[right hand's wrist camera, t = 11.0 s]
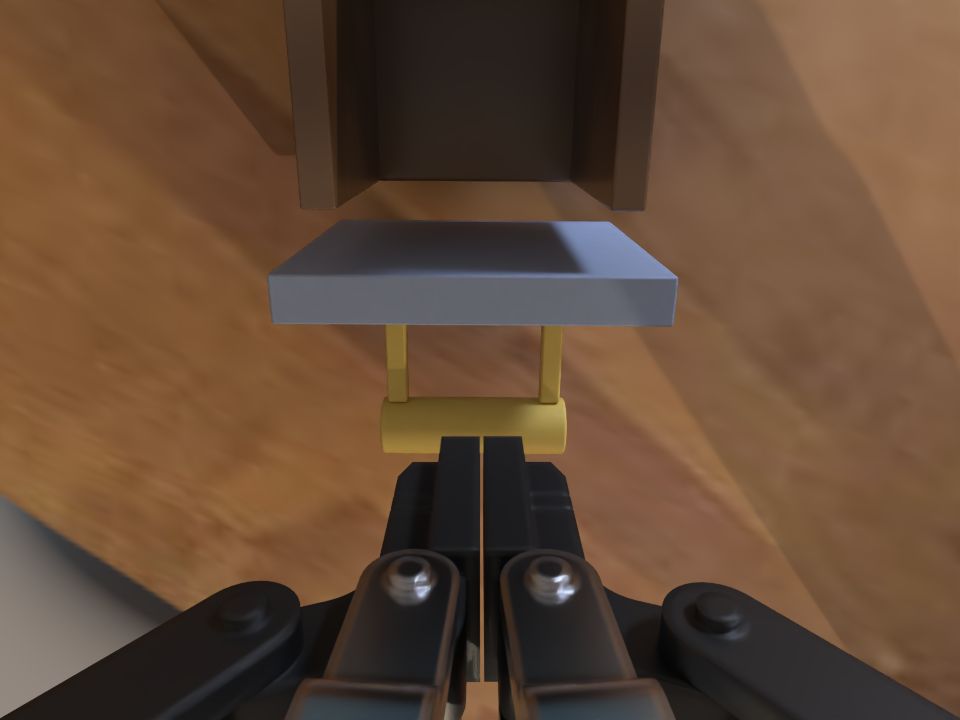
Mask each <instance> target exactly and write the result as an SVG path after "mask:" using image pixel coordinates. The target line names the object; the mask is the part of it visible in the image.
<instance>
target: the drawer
mask: <svg viewBox="0 0 960 720" xmlns="http://www.w3.org/2000/svg"><path fill="white" fill-rule="evenodd" d="M664 2H665V0H283V6H284V18H285V30H286V42H287V54H288V66H289V78H290V90H291V101H292V113H293V125H294V137H295V149H296V161H297V173H298V185H299V197H300V207H301V209H336V208H337V207H339V206H340V205H342V204H343V203H345V202H347V201H348V200H350V199H351V198H353V197H354V196H356V195H358V194H359V193H361V192H362V191H364V190H365V189H367V188H369V187H370V186H372V185H373V184H375V183H376V182H378V181H380V180H381V181H518V182H573V183H574V184H575V185H577V186H578V187H580V188H581V189H583V190H584V191H585V192H587V193H588V194H590V195H591V196H592V197H594V198H595V199H597V200H598V201H599V202H601V203H602V204H604V205H605V206H606V207H608V208H609V209H611V210H612V211H644V210H645V208H646V200H647V189H648V178H649V167H650V156H651V145H652V134H653V123H654V112H655V101H656V90H657V79H658V68H659V57H660V46H661V35H662V24H663V13H664ZM267 279H268V289H269V298H270V308H271V318H272V323H274V324H380V325H385V340H386V363H387V385H388V397H385V398H384V400H383V403H382V408H381V419H380V437H381V446H382V450H383V452H385V453H439V452H440V444H441V437H442V436H480V454H483V436H522V441H523V448H524V454H562V453H563V452H564V450H565V445H566V432H567V423H566V408H565V403H564V400H563V399H562V398H559V394H560V375H561V356H562V337H563V326H673V323H674V314H675V305H676V296H677V287H678V277H677V276H675V275H674V274H673V273H672V272H671V271H669V270H668V269H667V268H666V267H664V266H663V265H662V264H661V263H659V262H658V261H657V260H656V259H655V258H653V257H652V256H651V255H650V254H648V253H647V252H646V251H645V250H643V249H642V248H641V247H640V246H639V245H637V244H636V243H635V242H634V241H632V240H631V239H630V238H629V237H628V236H626V235H625V234H624V233H623V232H621V231H620V230H619V229H618V228H616V227H615V226H614V225H613V224H612V223H610V222H579V221H439V220H340V221H339V222H338V223H336V224H335V225H334V226H332V227H331V228H330V229H328V230H327V231H326V232H324V233H323V234H322V235H320V236H319V237H318V238H316V239H315V240H314V241H312V242H311V243H310V244H308V245H307V246H305V247H304V248H303V249H301V250H300V251H299V252H297V253H296V254H295V255H293V256H292V257H291V258H289V259H288V260H287V261H285V262H284V263H283V264H281V265H280V266H279V267H277V268H276V269H275V270H273V271H272V272H271V273H269V274H268V276H267ZM407 325H528V326H541V348H540V373H539V398H519V397H408V396H409V378H408V347H407Z"/></svg>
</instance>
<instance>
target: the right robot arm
mask: <svg viewBox="0 0 960 720" xmlns="http://www.w3.org/2000/svg"><path fill="white" fill-rule="evenodd" d="M483 572H484V682H498V696H499V718H498V720H960V718H958V717H957V716H955V715H953V714H952V713H950V712H948V711H946V710H945V709H943V708H941V707H939V706H938V705H936V704H934V703H933V702H931V701H929V700H927V699H926V698H924V697H922V696H921V695H919V694H917V693H915V692H914V691H912V690H910V689H908V688H907V687H905V686H903V685H902V684H900V683H898V682H896V681H895V680H893V679H891V678H890V677H888V676H886V675H884V674H883V673H881V672H879V671H878V670H876V669H874V668H872V667H871V666H869V665H867V664H865V663H864V662H862V661H860V660H859V659H857V658H855V657H853V656H852V655H850V654H848V653H847V652H845V651H843V650H841V649H840V648H838V647H836V646H834V645H833V644H831V643H829V642H828V641H826V640H824V639H822V638H821V637H819V636H817V635H816V634H814V633H812V632H810V631H809V630H807V629H805V628H804V627H802V626H800V625H798V624H797V623H795V622H793V621H791V620H790V619H788V618H786V617H785V616H783V615H781V614H779V613H778V612H776V611H774V610H773V609H771V608H769V607H767V606H766V605H764V604H762V603H760V602H759V601H757V600H755V599H754V598H752V597H750V596H748V595H747V594H745V593H743V592H741V591H738V590H736V589H733V588H731V587H728V586H724V585H720V584H715V583H705V582H698V583H689V584H684V585H681V586H679V587H677V588H675V589H673V590H672V591H671V592H669V593H668V594H667V596H666V597H665V599H664V601H663V604H662V606H658V605H654V604H650V603H645V602H641V601H637V600H633V599H630V598H626V597H624V596H621V595H619V594H617V593H615V592H613V591H611V590H609V589H607V588H606V587H604V586H603V585H602V582H601V579H600V577H599V575H598V573H597V571H596V570H595V569H594V567H593V566H592V565H591V564H589V563H588V562H587V561H585V557H584V553H583V549H582V544H581V540H580V536H579V532H578V528H577V523H576V519H575V515H574V511H573V506H572V502H571V498H570V497H569V490H568V485H567V481H566V477H565V476H564V475H563V474H562V473H561V472H560V471H559V470H558V469H557V468H556V467H555V466H554V465H553V464H552V463H551V462H525V456H524V448H523V441H522V436H483ZM466 682H480V436H442V437H441V444H440V452H439V461H438V462H412V463H411V464H410V465H409V466H408V467H407V468H406V469H405V470H404V471H403V472H402V473H401V474H400V475H399V476H398V479H397V484H396V488H395V493H394V497H393V501H392V506H391V511H390V515H389V519H388V523H387V528H386V532H385V536H384V541H383V545H382V550H381V554H380V557H379V558H378V559H376V560H375V561H373V562H372V563H371V564H369V565H368V566H367V567H366V569H365V570H364V571H363V573H362V575H361V577H360V579H359V582H358V585H357V587H356V590H354V591H352V592H351V593H349V594H347V595H344V596H342V597H339V598H336V599H332V600H329V601H325V602H320V603H316V604H312V605H307V606H303V607H300V601H299V599H298V596H297V595H296V594H295V592H294V591H292V590H291V589H290V588H288V587H287V586H285V585H282V584H279V583H276V582H270V581H251V582H245V583H240V584H237V585H233V586H230V587H228V588H225V589H223V590H221V591H219V592H217V593H215V594H213V595H212V596H210V597H208V598H206V599H205V600H203V601H201V602H200V603H198V604H196V605H194V606H193V607H191V608H189V609H187V610H186V611H184V612H182V613H181V614H179V615H177V616H175V617H174V618H172V619H170V620H169V621H167V622H165V623H163V624H162V625H160V626H158V627H157V628H155V629H153V630H151V631H150V632H148V633H146V634H144V635H143V636H141V637H139V638H138V639H136V640H134V641H132V642H131V643H129V644H127V645H126V646H124V647H122V648H120V649H119V650H117V651H115V652H114V653H112V654H110V655H108V656H107V657H105V658H103V659H101V660H100V661H98V662H96V663H95V664H93V665H91V666H89V667H88V668H86V669H84V670H83V671H81V672H79V673H77V674H76V675H74V676H72V677H70V678H69V679H67V680H65V681H64V682H62V683H60V684H58V685H57V686H55V687H53V688H52V689H50V690H48V691H46V692H45V693H43V694H41V695H39V696H38V697H36V698H34V699H33V700H31V701H29V702H28V703H26V704H24V705H22V706H21V707H19V708H17V709H16V710H14V711H12V712H10V713H9V714H7V715H5V716H3V717H2V718H0V720H462V718H461V717H462V715H463V712H464V709H465V704H466Z"/></svg>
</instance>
